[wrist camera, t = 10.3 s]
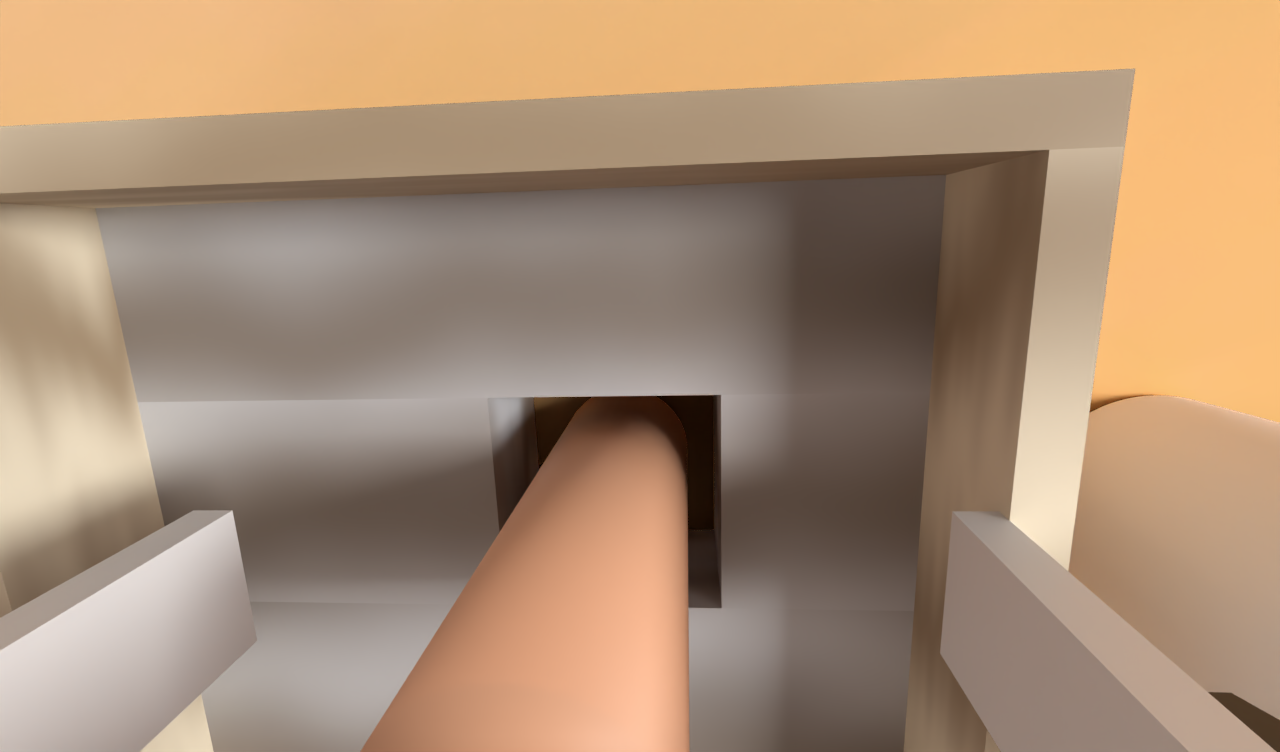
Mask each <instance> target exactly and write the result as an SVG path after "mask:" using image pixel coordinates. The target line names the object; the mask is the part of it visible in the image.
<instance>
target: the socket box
mask: <svg viewBox="0 0 1280 752" xmlns="http://www.w3.org/2000/svg"><path fill="white" fill-rule="evenodd" d="M1134 74H1135V69H1119V70H1099V71H1080V72H1060V73H1040V74H1021V75H1001V76H982V77H962V78H942V79H923V80H903V81H883V82H864V83H844V84H824V85H805V86H785V87H766V88H746V89H726V90H707V91H687V92H667V93H648V94H628V95H609V96H589V97H569V98H550V99H530V100H510V101H491V102H471V103H452V104H432V105H412V106H393V107H373V108H353V109H334V110H314V111H294V112H275V113H255V114H236V115H216V116H196V117H177V118H157V119H137V120H118V121H98V122H79V123H59V124H39V125H20V126H0V618H1V617H3V616H4V615H6V614H8V613H10V612H12V611H13V610H15V609H17V608H19V607H21V606H22V605H24V604H26V603H28V602H30V601H31V600H33V599H35V598H37V597H39V596H40V595H42V594H44V593H46V592H48V591H49V590H51V589H53V588H55V587H57V586H58V585H60V584H62V583H64V582H66V581H67V580H69V579H71V578H73V577H75V576H76V575H78V574H80V573H82V572H84V571H85V570H87V569H89V568H91V567H93V566H94V565H96V564H98V563H100V562H102V561H103V560H105V559H107V558H109V557H111V556H112V555H114V554H116V553H118V552H120V551H121V550H123V549H125V548H127V547H129V546H130V545H132V544H134V543H136V542H138V541H139V540H141V539H143V538H145V537H147V536H148V535H150V534H152V533H154V532H156V531H157V530H159V529H161V528H163V527H165V526H166V525H168V524H170V523H172V522H174V521H175V520H177V519H179V518H181V517H183V516H184V515H186V514H188V513H190V512H192V511H193V510H232V511H233V516H234V521H235V526H236V532H237V537H238V542H239V547H240V553H241V558H242V563H243V568H244V574H245V579H246V584H247V589H248V595H249V600H250V605H251V610H252V616H253V621H254V626H255V631H256V637H257V641H256V642H255V643H254V644H253V645H252V646H251V647H250V648H249V649H248V650H247V651H246V652H245V653H244V654H243V655H242V656H241V657H240V658H238V659H237V660H236V661H235V662H234V663H233V664H232V665H231V666H230V667H229V668H228V669H227V670H226V671H225V672H224V673H223V674H222V675H220V676H219V677H218V678H217V679H216V680H215V681H214V682H213V683H212V684H211V685H210V686H209V687H208V688H207V689H206V690H205V691H204V692H202V693H201V694H200V695H199V696H198V697H197V698H196V699H195V700H194V701H193V702H192V703H191V704H190V705H189V706H188V707H187V708H186V709H184V710H183V711H182V712H181V713H180V714H179V715H178V716H177V717H176V718H175V719H174V720H173V721H172V722H171V723H170V724H169V725H167V726H166V727H165V728H164V729H163V730H162V731H161V732H160V733H159V734H158V735H157V736H156V737H155V738H154V739H153V740H152V741H151V742H149V743H148V744H147V745H146V746H145V747H144V748H143V749H142V750H141V751H140V752H360V751H361V750H362V748H363V746H364V745H365V743H366V742H367V740H368V738H369V737H370V735H371V734H372V732H373V731H374V729H375V727H376V726H377V724H378V723H379V721H380V720H381V718H382V716H383V715H384V713H385V712H386V710H387V709H388V707H389V705H390V704H391V702H392V701H393V699H394V698H395V696H396V694H397V693H398V691H399V690H400V688H401V687H402V685H403V683H404V682H405V680H406V679H407V677H408V675H409V674H410V672H411V671H412V669H413V668H414V666H415V664H416V663H417V661H418V660H419V658H420V657H421V655H422V653H423V652H424V650H425V649H426V647H427V646H428V644H429V642H430V641H431V639H432V638H433V636H434V635H435V633H436V631H437V630H438V628H439V627H440V625H441V624H442V622H443V620H444V619H445V617H446V616H447V614H448V613H449V611H450V609H451V608H452V606H453V605H454V603H455V602H456V600H457V598H458V597H459V595H460V594H461V592H462V591H463V589H464V587H465V586H466V584H467V583H468V581H469V580H470V578H471V576H472V575H473V573H474V572H475V570H476V569H477V567H478V565H479V564H480V562H481V561H482V559H483V558H484V556H485V554H486V553H487V551H488V550H489V548H490V546H491V545H492V543H493V542H494V540H495V539H496V537H497V535H498V534H499V532H500V531H501V529H502V528H503V526H504V524H505V523H506V521H507V520H508V518H509V517H510V515H511V513H512V512H513V510H514V509H515V507H516V506H517V504H518V502H519V501H520V499H521V498H522V496H523V495H524V493H525V491H526V490H527V488H528V487H529V485H530V484H531V482H532V480H533V479H534V477H535V476H536V474H537V473H538V471H539V464H538V451H537V437H536V423H535V409H534V397H590V396H670V395H713V455H714V530H688V610H689V744H690V752H1001V751H1000V749H999V748H998V746H997V745H996V743H995V741H994V740H993V738H992V736H991V735H990V733H989V732H988V730H987V728H986V727H985V725H984V723H983V722H982V720H981V719H980V717H979V715H978V714H977V712H976V711H975V709H974V707H973V706H972V704H971V702H970V701H969V699H968V698H967V696H966V694H965V693H964V691H963V690H962V688H961V686H960V685H959V683H958V681H957V680H956V678H955V677H954V675H953V673H952V672H951V670H950V668H949V667H948V665H947V664H946V662H945V660H944V659H943V657H942V656H941V654H940V648H941V636H942V624H943V613H944V601H945V590H946V578H947V567H948V555H949V543H950V532H951V520H952V511H999V512H1000V513H1001V514H1002V515H1004V516H1005V517H1006V518H1007V519H1008V520H1009V521H1011V522H1012V523H1013V524H1014V525H1015V526H1016V527H1018V528H1019V529H1020V530H1021V531H1022V532H1023V533H1025V534H1026V535H1027V536H1028V537H1029V538H1030V539H1031V540H1033V541H1034V542H1035V543H1036V544H1037V545H1038V546H1040V547H1041V548H1042V549H1043V550H1044V551H1045V552H1046V553H1048V554H1049V555H1050V556H1051V557H1052V558H1053V559H1055V560H1056V561H1057V562H1058V563H1059V564H1060V565H1061V566H1063V567H1064V568H1065V569H1066V570H1067V571H1068V569H1069V562H1070V554H1071V547H1072V539H1073V532H1074V524H1075V517H1076V509H1077V502H1078V494H1079V487H1080V479H1081V472H1082V464H1083V457H1084V449H1085V442H1086V434H1087V427H1088V419H1089V412H1090V404H1091V397H1092V389H1093V382H1094V374H1095V367H1096V359H1097V352H1098V344H1099V337H1100V329H1101V322H1102V314H1103V307H1104V299H1105V292H1106V284H1107V277H1108V269H1109V262H1110V254H1111V247H1112V239H1113V232H1114V224H1115V217H1116V209H1117V202H1118V194H1119V187H1120V179H1121V171H1122V164H1123V156H1124V149H1125V141H1126V134H1127V126H1128V119H1129V111H1130V104H1131V96H1132V89H1133V81H1134Z"/></svg>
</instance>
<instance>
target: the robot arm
mask: <svg viewBox="0 0 1280 752" xmlns="http://www.w3.org/2000/svg"><path fill="white" fill-rule="evenodd" d="M256 641H257V637H256V631H255V626H254V621H253V616H252V610H251V605H250V600H249V595H248V589H247V584H246V579H245V574H244V568H243V563H242V558H241V553H240V547H239V542H238V537H237V532H236V526H235V521H234V516H233V511H232V510H193V511H192V512H190V513H188V514H186V515H184V516H183V517H181V518H179V519H177V520H175V521H174V522H172V523H170V524H168V525H166V526H165V527H163V528H161V529H159V530H157V531H156V532H154V533H152V534H150V535H148V536H147V537H145V538H143V539H141V540H139V541H138V542H136V543H134V544H132V545H130V546H129V547H127V548H125V549H123V550H121V551H120V552H118V553H116V554H114V555H112V556H111V557H109V558H107V559H105V560H103V561H102V562H100V563H98V564H96V565H94V566H93V567H91V568H89V569H87V570H85V571H84V572H82V573H80V574H78V575H76V576H75V577H73V578H71V579H69V580H67V581H66V582H64V583H62V584H60V585H58V586H57V587H55V588H53V589H51V590H49V591H48V592H46V593H44V594H42V595H40V596H39V597H37V598H35V599H33V600H31V601H30V602H28V603H26V604H24V605H22V606H21V607H19V608H17V609H15V610H13V611H12V612H10V613H8V614H6V615H4V616H3V617H1V618H0V752H140V751H141V750H142V749H143V748H144V747H145V746H146V745H147V744H148V743H149V742H151V741H152V740H153V739H154V738H155V737H156V736H157V735H158V734H159V733H160V732H161V731H162V730H163V729H164V728H165V727H166V726H167V725H169V724H170V723H171V722H172V721H173V720H174V719H175V718H176V717H177V716H178V715H179V714H180V713H181V712H182V711H183V710H184V709H186V708H187V707H188V706H189V705H190V704H191V703H192V702H193V701H194V700H195V699H196V698H197V697H198V696H199V695H200V694H201V693H202V692H204V691H205V690H206V689H207V688H208V687H209V686H210V685H211V684H212V683H213V682H214V681H215V680H216V679H217V678H218V677H219V676H220V675H222V674H223V673H224V672H225V671H226V670H227V669H228V668H229V667H230V666H231V665H232V664H233V663H234V662H235V661H236V660H237V659H238V658H240V657H241V656H242V655H243V654H244V653H245V652H246V651H247V650H248V649H249V648H250V647H251V646H252V645H253V644H254V643H255V642H256ZM940 654H941V656H942V657H943V659H944V660H945V662H946V664H947V665H948V667H949V668H950V670H951V672H952V673H953V675H954V677H955V678H956V680H957V681H958V683H959V685H960V686H961V688H962V690H963V691H964V693H965V694H966V696H967V698H968V699H969V701H970V702H971V704H972V706H973V707H974V709H975V711H976V712H977V714H978V715H979V717H980V719H981V720H982V722H983V723H984V725H985V727H986V728H987V730H988V732H989V733H990V735H991V736H992V738H993V740H994V741H995V743H996V745H997V746H998V748H999V749H1000V751H1001V752H1280V720H1279V719H1277V718H1275V717H1273V716H1272V715H1270V714H1268V713H1266V712H1265V711H1263V710H1261V709H1259V708H1258V707H1256V706H1254V705H1252V704H1250V703H1249V702H1247V701H1245V700H1243V699H1242V698H1240V697H1238V696H1236V695H1234V694H1233V693H1228V692H1207V691H1206V690H1205V689H1203V688H1202V687H1201V686H1200V685H1199V684H1198V683H1197V682H1195V681H1194V680H1193V679H1192V678H1191V677H1190V676H1188V675H1187V674H1186V673H1185V672H1184V671H1183V670H1182V669H1180V668H1179V667H1178V666H1177V665H1176V664H1175V663H1173V662H1172V661H1171V660H1170V659H1169V658H1168V657H1167V656H1165V655H1164V654H1163V653H1162V652H1161V651H1160V650H1158V649H1157V648H1156V647H1155V646H1154V645H1153V644H1152V643H1150V642H1149V641H1148V640H1147V639H1146V638H1145V637H1143V636H1142V635H1141V634H1140V633H1139V632H1138V631H1137V630H1135V629H1134V628H1133V627H1132V626H1131V625H1130V624H1128V623H1127V622H1126V621H1125V620H1124V619H1123V618H1121V617H1120V616H1119V615H1118V614H1117V613H1116V612H1115V611H1113V610H1112V609H1111V608H1110V607H1109V606H1108V605H1106V604H1105V603H1104V602H1103V601H1102V600H1101V599H1100V598H1098V597H1097V596H1096V595H1095V594H1094V593H1093V592H1091V591H1090V590H1089V589H1088V588H1087V587H1086V586H1085V585H1083V584H1082V583H1081V582H1080V581H1079V580H1078V579H1076V578H1075V577H1074V576H1073V575H1072V574H1071V573H1070V572H1068V571H1067V570H1066V569H1065V568H1064V567H1063V566H1061V565H1060V564H1059V563H1058V562H1057V561H1056V560H1055V559H1053V558H1052V557H1051V556H1050V555H1049V554H1048V553H1046V552H1045V551H1044V550H1043V549H1042V548H1041V547H1040V546H1038V545H1037V544H1036V543H1035V542H1034V541H1033V540H1031V539H1030V538H1029V537H1028V536H1027V535H1026V534H1025V533H1023V532H1022V531H1021V530H1020V529H1019V528H1018V527H1016V526H1015V525H1014V524H1013V523H1012V522H1011V521H1009V520H1008V519H1007V518H1006V517H1005V516H1004V515H1002V514H1001V513H1000V512H999V511H952V520H951V532H950V543H949V555H948V567H947V578H946V590H945V601H944V613H943V624H942V636H941V648H940Z"/></svg>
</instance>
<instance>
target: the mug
mask: <svg viewBox="0 0 1280 752" xmlns="http://www.w3.org/2000/svg"><path fill="white" fill-rule="evenodd" d="M1068 572H1070V573H1071V574H1072V575H1073V576H1074V577H1075V578H1076V579H1078V580H1079V581H1080V582H1081V583H1082V584H1083V585H1085V586H1086V587H1087V588H1088V589H1089V590H1090V591H1091V592H1093V593H1094V594H1095V595H1096V596H1097V597H1098V598H1100V599H1101V600H1102V601H1103V602H1104V603H1105V604H1106V605H1108V606H1109V607H1110V608H1111V609H1112V610H1113V611H1115V612H1116V613H1117V614H1118V615H1119V616H1120V617H1121V618H1123V619H1124V620H1125V621H1126V622H1127V623H1128V624H1130V625H1131V626H1132V627H1133V628H1134V629H1135V630H1137V631H1138V632H1139V633H1140V634H1141V635H1142V636H1143V637H1145V638H1146V639H1147V640H1148V641H1149V642H1150V643H1152V644H1153V645H1154V646H1155V647H1156V648H1157V649H1158V650H1160V651H1161V652H1162V653H1163V654H1164V655H1165V656H1167V657H1168V658H1169V659H1170V660H1171V661H1172V662H1173V663H1175V664H1176V665H1177V666H1178V667H1179V668H1180V669H1182V670H1183V671H1184V672H1185V673H1186V674H1187V675H1188V676H1190V677H1191V678H1192V679H1193V680H1194V681H1195V682H1197V683H1198V684H1199V685H1200V686H1201V687H1202V688H1203V689H1205V690H1206V691H1207V692H1228V693H1233V694H1234V695H1236V696H1238V697H1240V698H1242V699H1243V700H1245V701H1247V702H1249V703H1250V704H1252V705H1254V706H1256V707H1258V708H1259V709H1261V710H1263V711H1265V712H1266V713H1268V714H1270V715H1272V716H1273V717H1275V718H1277V719H1279V720H1280V423H1279V422H1275V421H1271V420H1268V419H1264V418H1260V417H1257V416H1253V415H1249V414H1245V413H1241V412H1238V411H1234V410H1230V409H1226V408H1223V407H1219V406H1215V405H1211V404H1208V403H1204V402H1200V401H1196V400H1192V399H1188V398H1183V397H1177V396H1164V395H1151V396H1140V397H1133V398H1128V399H1124V400H1120V401H1116V402H1113V403H1110V404H1107V405H1105V406H1102V407H1100V408H1098V409H1096V410H1094V411H1092V412H1090V413H1089V419H1088V427H1087V434H1086V442H1085V449H1084V457H1083V464H1082V472H1081V479H1080V487H1079V494H1078V502H1077V509H1076V517H1075V524H1074V532H1073V539H1072V547H1071V554H1070V562H1069V569H1068Z"/></svg>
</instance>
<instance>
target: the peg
mask: <svg viewBox="0 0 1280 752" xmlns="http://www.w3.org/2000/svg"><path fill="white" fill-rule="evenodd" d="M360 752H690V744H689V610H688V476H687V439H686V435H685V431H684V428H683V426H682V423H681V422H680V420H679V418H678V416H677V415H676V414H675V412H674V411H673V410H672V409H671V408H670V407H669V406H668V405H667V404H666V403H665V402H664V401H662V400H661V399H659V398H658V397H656V396H593V397H592V398H590V399H589V400H587V401H586V402H585V403H584V404H583V405H582V406H581V407H580V408H579V409H578V410H577V411H576V413H575V414H574V416H573V418H572V419H571V421H570V422H569V424H568V425H567V427H566V429H565V430H564V432H563V433H562V435H561V436H560V438H559V440H558V441H557V443H556V444H555V446H554V447H553V449H552V451H551V452H550V454H549V455H548V457H547V458H546V460H545V462H544V463H543V465H542V466H541V468H540V469H539V471H538V473H537V474H536V476H535V477H534V479H533V480H532V482H531V484H530V485H529V487H528V488H527V490H526V491H525V493H524V495H523V496H522V498H521V499H520V501H519V502H518V504H517V506H516V507H515V509H514V510H513V512H512V513H511V515H510V517H509V518H508V520H507V521H506V523H505V524H504V526H503V528H502V529H501V531H500V532H499V534H498V535H497V537H496V539H495V540H494V542H493V543H492V545H491V546H490V548H489V550H488V551H487V553H486V554H485V556H484V558H483V559H482V561H481V562H480V564H479V565H478V567H477V569H476V570H475V572H474V573H473V575H472V576H471V578H470V580H469V581H468V583H467V584H466V586H465V587H464V589H463V591H462V592H461V594H460V595H459V597H458V598H457V600H456V602H455V603H454V605H453V606H452V608H451V609H450V611H449V613H448V614H447V616H446V617H445V619H444V620H443V622H442V624H441V625H440V627H439V628H438V630H437V631H436V633H435V635H434V636H433V638H432V639H431V641H430V642H429V644H428V646H427V647H426V649H425V650H424V652H423V653H422V655H421V657H420V658H419V660H418V661H417V663H416V664H415V666H414V668H413V669H412V671H411V672H410V674H409V675H408V677H407V679H406V680H405V682H404V683H403V685H402V687H401V688H400V690H399V691H398V693H397V694H396V696H395V698H394V699H393V701H392V702H391V704H390V705H389V707H388V709H387V710H386V712H385V713H384V715H383V716H382V718H381V720H380V721H379V723H378V724H377V726H376V727H375V729H374V731H373V732H372V734H371V735H370V737H369V738H368V740H367V742H366V743H365V745H364V746H363V748H362V750H361V751H360Z"/></svg>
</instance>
